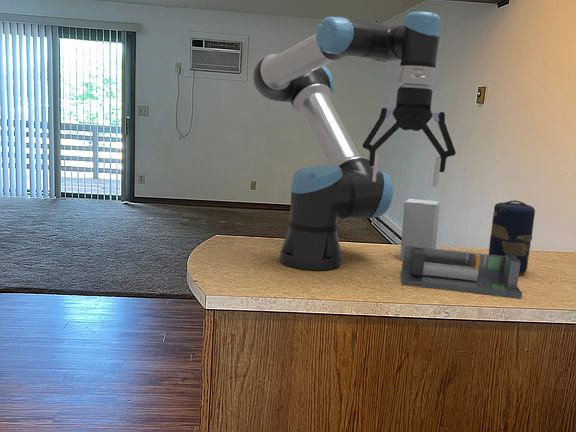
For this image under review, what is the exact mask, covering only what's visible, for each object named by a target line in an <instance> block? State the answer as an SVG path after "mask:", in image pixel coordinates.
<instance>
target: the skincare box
mask: <svg viewBox="0 0 576 432" xmlns="http://www.w3.org/2000/svg"><path fill="white" fill-rule="evenodd" d="M440 202H441V201H438V200H427V199H418V198H417V199H416V198H408V199H407V200H405V201H404V203H403V214H402V215H403V217H402V229H401V230H402V231H401V242H400V243H401V244H400V255H399V259H400V260H403V254H404V246H414V247H424V248H433V249H437V239H438V238H437V237H438V229H439V228H438V227H439V215H440V205H441V203H440Z"/></svg>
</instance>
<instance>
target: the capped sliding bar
mask: <svg viewBox="0 0 576 432" xmlns="http://www.w3.org/2000/svg"><path fill="white" fill-rule="evenodd" d="M424 259H425V252H424V250H423V249H414V248H413V257H412V266H411V273H412V275H417V276H423V275H430V276H439V277H448V278H457V279H466V280H475V281H477V278H478V271H479V263H480V255H479V254H475V259H474V267H466V266H457V265H448V264H439V263H430V262H424Z"/></svg>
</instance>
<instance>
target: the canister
mask: <svg viewBox="0 0 576 432" xmlns="http://www.w3.org/2000/svg"><path fill="white" fill-rule="evenodd" d="M492 214H493V215H492V222H491V224H492V225H491V230H490V231H491V232H490V238H489V248H488V254H490V255H500V256H506V255H514V256H516V257H517V259H518V260H519V261H520V262H521V263H520V270H519V275H520V274H523V273H525V272H526V271H527V270H528V264H529V259H530V258H529V257H530V250H531V243H532V239H533V230H534V229H533V228H534V223H535V222H534V221H535V215H536V209H535V208H534V207H533V206H532V205H529V204H526V203H525V202H523V201H519V200H509V201H505V202H497V203H495V204H494V208H493V213H492Z"/></svg>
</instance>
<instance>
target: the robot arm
mask: <svg viewBox="0 0 576 432" xmlns="http://www.w3.org/2000/svg"><path fill="white" fill-rule="evenodd" d="M441 21H442V20H441V17H440V15H439V14H437V13H434V12H430V11H412V12H409V13H407V14H406V15H405V19H404V21H403V22H404V23H403V24H402V25H385V24H380V23H373V22H370V21H369V22H368V21H363V20H362V21H361V20H358V19H357V20H356V19H353V18H347V17H344V16H343V17H342V16H327V17H324V18H323V19H322V20H321V23H320V24H318V26H317V30H316V33H314V34H312V35H311V36H309V37H307V38H305V39H303V40H302V41H300V42H298V43H296V44H295V45H293V46H291V47H289V48H287V49H286V50H284V51H282V52H280V53H271V54H269V55H267V56H265V57H263V58H261V59H260V60H259V61H258V62H257V63H256V64H255V67H254V70H253V72H252V73H253V74H252V79H253V80H252V81H253V85H254V86H255V89H256V90H257V91H258V93H259V94H260V95H261V96H262V97H263V98H266V99H268V100H270V101H273V102H285V103H290V104H291V106H292V108H293V110H294V112H295V113H296V114H298V115H300V116H303V118H304V120H305V122H306V124H307V126H308V128H309V130H310V132H311V134H312V136H313V138H314V140H315V142H316V144H317V147H318V148H319V150H320V153H321V154H322V156H323V159H324V160H325V163H326V165H312V166H311V165H310V166H309V165H308V166H305V167H300V168H298V169H297V170H295V172H294V173H293V175H292V180H291V186H290V191H291V193H290V209H289V210H290V211H289V221H288V222H289V226H288V231H287V233H286V237H285V238H284V241H283V244H282V246H281V249H280V252H279V261H280V263H281V264H283V265H285V266H287V267H290V268H295V269H299V270H307V271H329V270H335V269H338V268H341V266H342V263H343V254H342V250H341V247H340V245H341V244H340V242H339V237H338V224H339V223H338V222H339V220H351V219H352V220H353V219H355V220H356V219H367V220H369V219H372V218H379V217H381V216H383V215H384V214H385V213H386V212H387V211H388V210H389V209H390V206H391V204H392V201H393V195H394V187H393V182H392V179H391V177H390V176H389V175H388V173H386V172H383V171H380V170H379V171H378V163H379V162H378V161H379V154H380V152H379V151H377V150H378V149H379V148H380V147H381V146H382V145H383V144H384V143H385V142H386V141H387V140H388V139H390V137H391V136H393V134H395V133H396V132H397V131H398V129H401V130H403V131H409V130H410V131H411V130H412V131H415V132H418V131H421V130H422V131H423V132H424V135H425V136H426V138H427V139H428V140H429V142H430V143H431V145H432V146H433V147H434V149H435V150H436V152H437V153H438V155H439V156H436V157H435V163H434V164H435V165H434V174H433V180H432V181H433V182H432V187H433V188H438V187H439V177H440V173H444V172H445V169H446V162H447V158H448V157H453V156H455V155H456V150H455V146H454V144H453V142H452V139H451V136H450V133H449V130H448V127H447V126H446V125H447V124H446V113H445V112H443V111H439V112H432V101H433V100H432V99H433V90H432V89H431V88H432V87H433V86H434V84H435V83H434V82H435V75H436V74H435V73H436V65H437V56H438V51H439V43H440V37H441ZM349 56H350V57H351V56H352V57H359V58H366V59H371V60H372V61H377V62H388V61H389V62H390V61H400V63H399V65H400V66H399V73H398V82H397V84H398V85H400V87H398V89H397V94H396V101H395V108H394V109H390V108H386V107H382V108H381V110H380V115H379V118H378V119H377V121H376V123H375V124H374V125H373V127H372V128H371V131H370V132H369V134H368V136H367V137H366V138H365V140H364V142H363V143H362V149H365V150H368V152H369V159H368V158H367V157H363V156H361V155H360V153H359V152H358V150H357V148H356V145H355V144H354V143H353V140H352V138H351V136H350V135H349V133H348V130H347V129H346V128H345V126H344V124H343V122H342V120H341V119H340V116H339V114H338V112H337V111H336V109H335V107H334V105H333V104H332V101H331V100H332V96H333V93H334V92H333V91H334V84H333V82H334V80H333V79H334V78H333V75H332V73H331V71H330V70H329V68H328V67H327V65H329V64H331V63H333V62H336V61H338V60H340V59H342V58H345V57H349ZM391 115H392V116H393V118H394V120H395V121H396V122H394V124H393V125H392V126H391V127H389V129H388V130H387V131H386V132H384V134H383V135H382V136H381V137H380V138H379V139H378V140H376V141H375V142H374V144H371V142H372V141H373V139H374V138H375V136H376V134H377V132H378V131H379V130H380V128H381V127H382V125H383V123H384V122H385V120H386V119H389V117H390V116H391ZM432 119H434V122H436V123H437V124H438V128H439V130H440V133H441V136H442V138H443V141H444V144H445V147H446V149H447V150H445V149H444V148H443V147H442V144H440V142H439V141H438V139H437V137H435V135H434V133H433V132H432V131H431V129H430V127H429V126H428V123H429V121H431V120H432Z"/></svg>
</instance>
